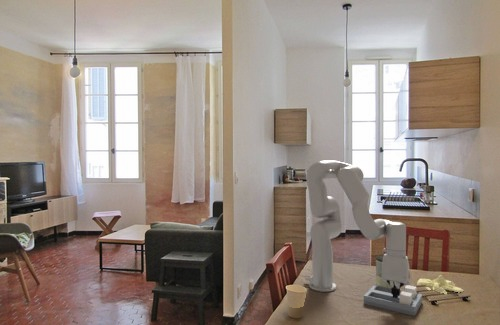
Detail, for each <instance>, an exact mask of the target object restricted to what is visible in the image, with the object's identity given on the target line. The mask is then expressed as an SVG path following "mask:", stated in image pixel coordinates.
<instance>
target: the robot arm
mask: <svg viewBox="0 0 500 325" xmlns="http://www.w3.org/2000/svg"><path fill="white" fill-rule="evenodd" d="M305 178H306V184H307V189H308V197H309V198H308V199H309V207H310V212H311V215H312V216H313V217H315V218H317V219H318V218H319V219H321V218H322V220H318V221H315V222H314V223H313V224H312V225H311V228H310V232H309V233H310V240H311V247H312V248H311V249H312V252H311V253H312V254H311V257H312V258H311V259H312V261H311V262H312V264H311V268H312V272H311V273H312V274H311V275H310V274H304V275H305V276H304V278H305V281H309V283H308V287H309V289H312V290H313V291H317V292H323V293H325V292H326V293H329V292H333V291H336V289H337V284H336V283H335V282H334V280H333V279H334V273H333V272H334V271H333V270H334V254H333V251H334V249H333V248H334V247H333V245H332V241H331V239H335V238H337V237H338V236H340V235H341V233H342V219H341V212H340V206H339V203H338V201H337V199H336V198H335V197H333V196H331V195H330V196H329V195H328V190H327V186H326V184H325V181H324V180H326V179H336V180H337V182H338V183H339V185H340V186H341V188H342V190H343V192H344V193H345V196H346V197H347V199H348V200H349V202H350V203H351V210H352V215H353V219H354V221H355V224H356V225H357V227H358V228H359V231H360V233H361V234H362V235H363V236H364V237H365V238H366V239H368V240H370V241H374V240H375V241H376V240H378V239H380V238H384V237H385V247H383V248H382V252H384V257H383V263H382V280H383V281H386V282H388V284H389V285H390V287H391V294H392V295H393V298H398V296H400V290H401V288H403V287H404V286H406V285H410V284H411V282H410V274H411V273H410V264H409V258H408V256H407V226H406V224H405V223H403V222H401V221H390V220H388V219H383V218H377V219H374V218H373V217H372V215H371V213H370V210H369V207H368V203H369V198H370V193H369V192H368V189H366V187H365V186H364V184H363V182H362V181H363V180H364V172H363V170H362V169H361V168H360V167H358V166H355V165H353V164H349V163H345V162H343V161H342V162H341V161H339V160H319V161H315V162H314V163H312V164H311V165H310V166H309V167H308V169H307V171H306V177H305ZM395 282H397V286H395Z"/></svg>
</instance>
